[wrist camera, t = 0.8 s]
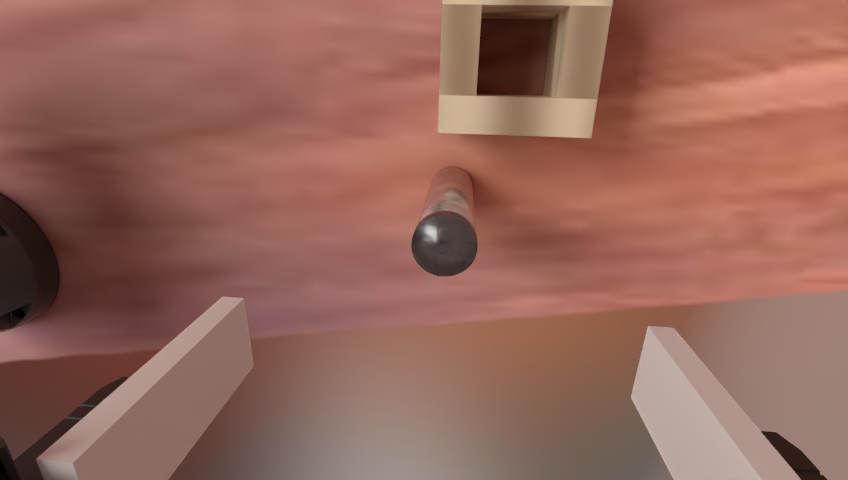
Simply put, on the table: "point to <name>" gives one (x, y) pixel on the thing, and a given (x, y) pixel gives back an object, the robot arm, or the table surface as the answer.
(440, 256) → the glass vial with cap
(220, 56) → the table surface
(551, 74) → the hollow square frame
